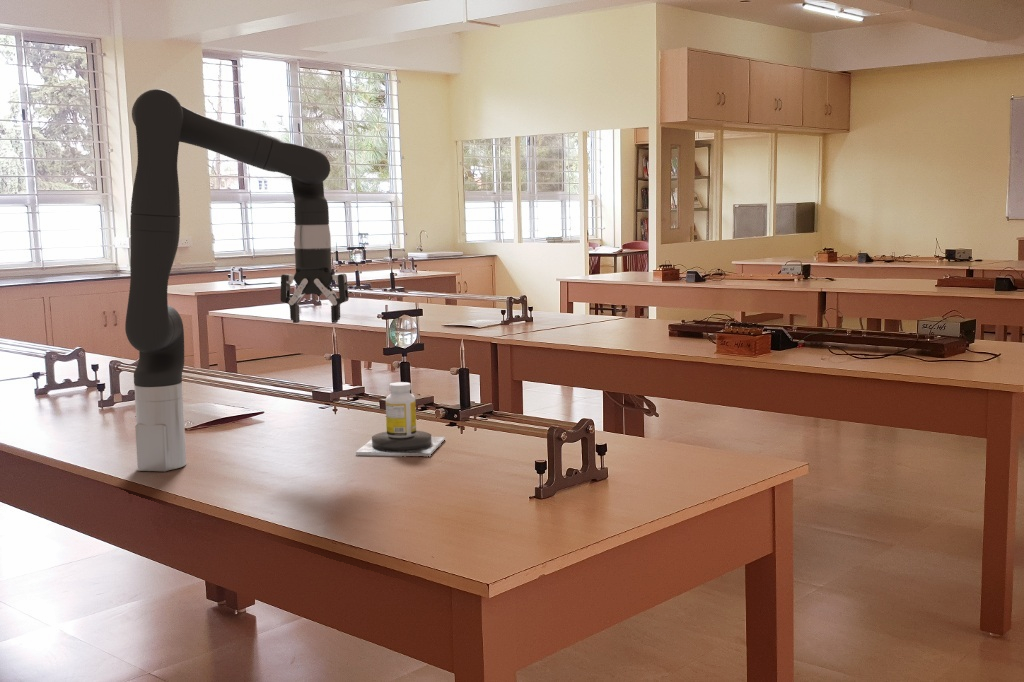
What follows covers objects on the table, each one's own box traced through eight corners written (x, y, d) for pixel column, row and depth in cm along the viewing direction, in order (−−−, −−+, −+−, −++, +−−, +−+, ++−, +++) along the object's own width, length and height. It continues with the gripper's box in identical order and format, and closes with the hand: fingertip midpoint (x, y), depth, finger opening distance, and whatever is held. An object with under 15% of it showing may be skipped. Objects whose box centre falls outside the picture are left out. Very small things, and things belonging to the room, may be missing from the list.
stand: (429, 457, 210) (429, 445, 210) (356, 455, 212) (355, 443, 212) (445, 440, 226) (444, 429, 225) (376, 438, 228) (376, 428, 228)
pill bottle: (413, 431, 223) (412, 380, 222) (418, 437, 217) (417, 385, 215) (384, 433, 221) (382, 382, 220) (389, 440, 215) (387, 386, 214)
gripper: (350, 245, 214) (352, 321, 216) (286, 246, 216) (289, 320, 218) (339, 246, 206) (342, 324, 208) (274, 247, 208) (276, 324, 210)
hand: (315, 322), depth 213 cm, fingers open, 8 cm apart
